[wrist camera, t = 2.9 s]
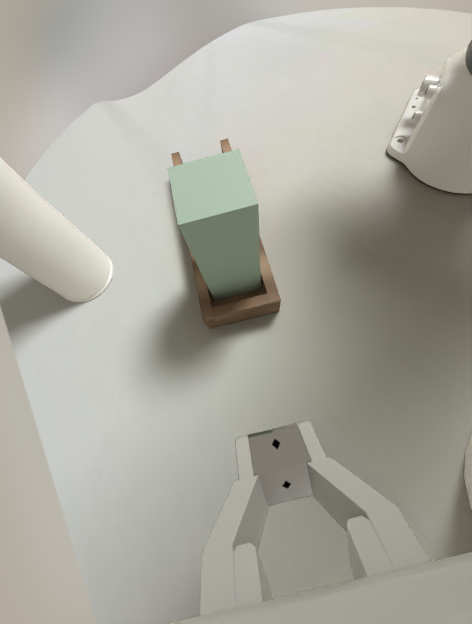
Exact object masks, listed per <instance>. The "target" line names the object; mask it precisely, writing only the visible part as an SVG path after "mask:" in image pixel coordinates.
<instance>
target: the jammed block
mask: <svg viewBox="0 0 472 624" xmlns="http://www.w3.org/2000/svg"><path fill="white" fill-rule="evenodd" d="M168 172H169V178H170V184H171V189H172V195H173V201H174V206H175V212H176V218H177V223H178V226H179V228H180V231H181V233H182V235H183V237H184V239H185V241H186V243H187V245H188V247H189V249H190V251H191V253H192V255H193V257H194V259H195V261H196V263H197V266H198V268H199V270H200V272H201V274H202V276H203V278H204V280H205V282H206V284H207V286H208V288H209V290H210V292H211V294H212V296H213V298H214V301H215V300H219V299H223V298H227V297H231V296H235V295H239V294H243V293H246V292H250V291H254V290H258V289H261V274H260V245H259V215H258V202H257V199H256V196H255V193H254V190H253V188H252V185H251V182H250V179H249V176H248V173H247V170H246V167H245V164H244V162H243V159H242V156H241V153H240V150H239V149H236V150H232V151H229V152H225V153H221V154H218V155H214V156H210V157H207V158H203V159H199V160H195V161H192V162H188V163H184V164H181V165H177V166H173V167H170V168H168Z"/></svg>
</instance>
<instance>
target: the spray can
mask: <svg viewBox="0 0 472 624" xmlns="http://www.w3.org/2000/svg"><path fill="white" fill-rule="evenodd" d="M0 258H2V259H4V260H5V261H7V262H8V263H10V264H11V265H13V266H15V267H16V268H18V269H19V270H21V271H23V272H24V273H26V274H27V275H29V276H30V277H32V278H34V279H35V280H37V281H38V282H40V283H42V284H43V285H45V286H46V287H48V288H50V289H51V290H53V291H54V292H56V293H58V294H59V295H61V296H62V297H63V298H65V299H67V300H69V301H72V302H86V301H89V300H92V299H94V298H96V297H97V296H99V295H100V294H102V293H103V292H104V291H105V290H106V288H107V287H108V286H109V284H110V282H111V279H112V276H113V265H112V262H111V260H110V258H109V257H108V256H107V255H106V254H105V253H104V252H102V251H101V250H100V249H99V248H98V247H97V246H96V245H95V244H94V243H93V242H92V241H91V240H90V239H89V238H88V237H86V236H85V235H84V234H83V233H82V232H81V231H80V230H78V229H77V228H76V227H75V226H74V225H73V224H72V223H71V222H69V221H68V220H67V219H66V218H65V217H64V216H63V215H61V214H60V213H59V212H58V211H57V210H56V209H55V208H53V207H52V206H51V205H50V204H49V203H48V202H47V201H45V200H44V199H43V198H42V197H41V196H40V195H39V194H38V193H36V192H35V191H34V190H33V189H32V188H31V187H30V186H29V185H28V184H27V183H26V182H25V181H24V180H23V179H22V178H21V177H20V176H19V175H18V174H17V173H16V172H15V171H14V170H13V169H12V168H11V167H10V166H9V165H8V164H7V163H6V162H4V160H2V158H1V157H0Z"/></svg>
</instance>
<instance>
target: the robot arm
mask: <svg viewBox="0 0 472 624" xmlns="http://www.w3.org/2000/svg"><path fill="white" fill-rule="evenodd" d="M387 152H388V154H389V155H391V156H392V157H394V158H396V159H397V160H399V161H401V162H402V163H404V164H405V165H406V167H407V168H408V169H409V170H410V172H411V173H412V174H413V175H415V176H416V177H417V178H418V179H420V180H421V181H423V182H424V183H426V184H428V185H430V186H432V187H435V188H438V189H441V190H444V191H449V192H454V193H472V40H471V42H470V43H469V45H468V47H467V48H465V49H463V50H462V51H460V52H458V53H456V54H454V55H453V56H451V57H450V58H448V59H447V60H446V62H445V63H444V65H443V67H442V69H441V71H440V72H439V74H438V76H435V75H426V77H425V79H424V81H423V83H422V85H421V87H420V88H418V89H416V90H415V91H414V92H413V94H412V96H411V98H410V100H409V102H408V104H407V106H406V108H405V110H404V113H403V115H402V117H401V119H400V121H399V124H398V126H397V128H396V130H395V132H394V134H393V137H392V139H391V141H390V143H389V145H388V148H387ZM235 444H236V455H237V466H238V477H239V479H238V480H235V481H234V484H233V486H232V488H231V490H230V492H229V495H228V497H227V499H226V501H225V503H224V506H223V508H222V510H221V512H220V514H219V517H218V519H217V521H216V523H215V525H214V528H213V530H212V532H211V534H210V536H209V538H208V541H207V543H206V545H205V547H204V549H203V552H202V572H201V599H200V616H198V617H194V618H189V619H185V620H181V621H177V622H172V623H168V624H472V552H469V553H465V554H461V555H457V556H452V557H448V558H444V559H440V560H435V561H431V560H430V558H429V557H428V555H427V554H426V552H425V550H424V549H423V547H422V545H421V544H420V542H419V541H418V539H417V537H416V536H415V534H414V533H413V531H412V529H411V528H410V526H409V524H408V523H407V521H406V520H405V518H404V516H403V515H402V513H401V512H400V510H399V508H398V507H397V506H396V505H395V504H393V503H392V502H391V501H389V500H388V499H387V498H385V497H384V496H383V495H381V494H380V493H379V492H377V491H376V490H375V489H373V488H372V487H370V486H369V485H368V484H366V483H365V482H364V481H362V480H361V479H360V478H358V477H357V476H356V475H354V474H353V473H352V472H350V471H349V470H348V469H346V468H345V467H343V466H342V465H341V464H339V463H338V462H337V461H335V460H334V459H333V458H331V457H329V458H327V457H326V455H325V453H324V451H323V448H322V446H321V444H320V442H319V440H318V438H317V435H316V433H315V431H314V429H313V427H312V424H311V422H310V421H309V420H307V421H303V422H299V423H294V424H290V425H286V426H282V427H278V428H274V429H272V430H268V431H263V432H259V433H254V434H249V435H245V436H241V437H236V440H235ZM309 496H314V498H315V499H316V500H317V501H318V502H319V503H320V504H321V505H322V506H323V507H324V508H325V509H326V511H327V512H328V513H329V514H330V515H331V516H332V517H333V518H334V519H335V520H336V521H337V522H338V523H339V524H340V525H341V526H342V527H343V528H344V529H345V531H346V532H347V534H348V545H349V555H350V566H351V569H352V571H353V574H354V577H355V580H350V581H346V582H342V583H338V584H334V585H329V586H325V587H321V588H317V589H312V590H308V591H304V592H300V593H295V594H291V595H287V596H283V597H278V598H274V599H272V595H271V589H270V584H269V582H268V579H267V576H266V574H265V571H264V568H263V566H262V563H261V560H260V558H259V555H258V553H257V550H258V546H259V542H260V538H261V535H262V531H263V527H264V523H265V519H266V516H267V512H268V506H272V505H275V504H279V503H282V502H286V501H290V500H294V499H299V498H304V497H309Z"/></svg>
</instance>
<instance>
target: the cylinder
mask: <svg viewBox="0 0 472 624" xmlns="http://www.w3.org/2000/svg"><path fill="white" fill-rule="evenodd" d="M464 480H465V484H466V489H467V494H468V499H469V503H470V507H471V510H472V435H471V438H470V440H469V443H468V446H467V449H466V451H465V469H464Z"/></svg>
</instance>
